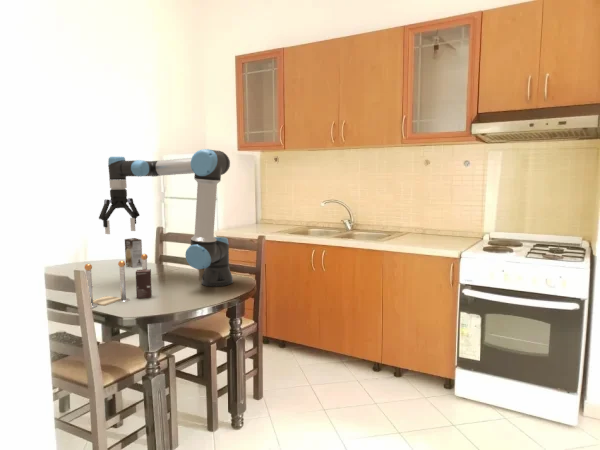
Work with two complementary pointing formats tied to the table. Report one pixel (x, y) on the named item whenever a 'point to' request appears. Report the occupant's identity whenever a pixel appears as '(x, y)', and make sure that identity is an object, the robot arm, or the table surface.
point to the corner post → (122, 282)
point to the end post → (90, 282)
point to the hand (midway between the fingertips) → (120, 232)
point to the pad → (106, 300)
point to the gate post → (144, 261)
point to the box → (143, 283)
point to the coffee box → (133, 252)
